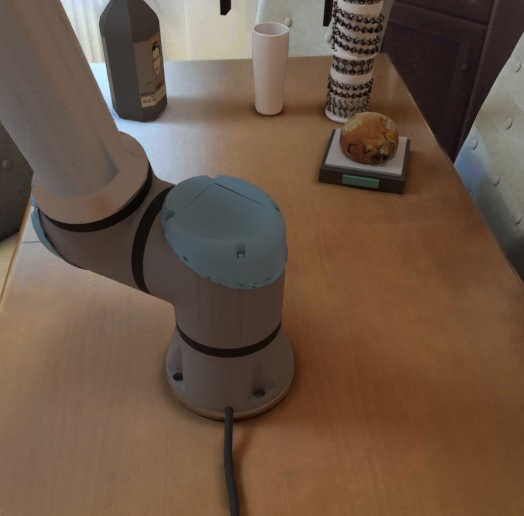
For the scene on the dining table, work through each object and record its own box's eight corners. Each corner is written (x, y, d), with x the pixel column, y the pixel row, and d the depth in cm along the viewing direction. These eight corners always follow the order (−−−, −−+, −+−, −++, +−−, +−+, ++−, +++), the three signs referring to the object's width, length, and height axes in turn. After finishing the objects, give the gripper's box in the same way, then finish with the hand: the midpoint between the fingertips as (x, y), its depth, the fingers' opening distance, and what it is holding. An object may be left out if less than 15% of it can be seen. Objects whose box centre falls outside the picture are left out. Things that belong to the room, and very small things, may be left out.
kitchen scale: (401, 195, 98) (405, 179, 96) (317, 183, 100) (319, 166, 98) (408, 152, 108) (411, 136, 106) (331, 141, 110) (333, 126, 108)
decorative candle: (314, 106, 119) (327, -38, 101) (355, 99, 122) (374, -43, 103) (336, 127, 114) (353, -22, 95) (378, 119, 116) (402, -28, 98)
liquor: (109, 117, 115) (76, -70, 93) (129, 96, 121) (103, -83, 99) (152, 124, 113) (130, -64, 91) (171, 103, 119) (154, -78, 97)
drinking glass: (246, 105, 119) (245, 24, 108) (276, 99, 121) (279, 19, 110) (260, 120, 115) (261, 38, 104) (291, 114, 117) (296, 32, 106)
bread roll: (392, 161, 107) (398, 113, 104) (399, 167, 97) (407, 114, 94) (336, 157, 107) (341, 109, 104) (338, 162, 98) (344, 109, 95)
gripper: (406, -201, 63) (374, 17, 79) (181, -213, 67) (193, -2, 82) (400, -193, 58) (367, 38, 74) (157, -206, 62) (175, 17, 77)
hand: (275, 17), depth 78 cm, fingers open, 13 cm apart
